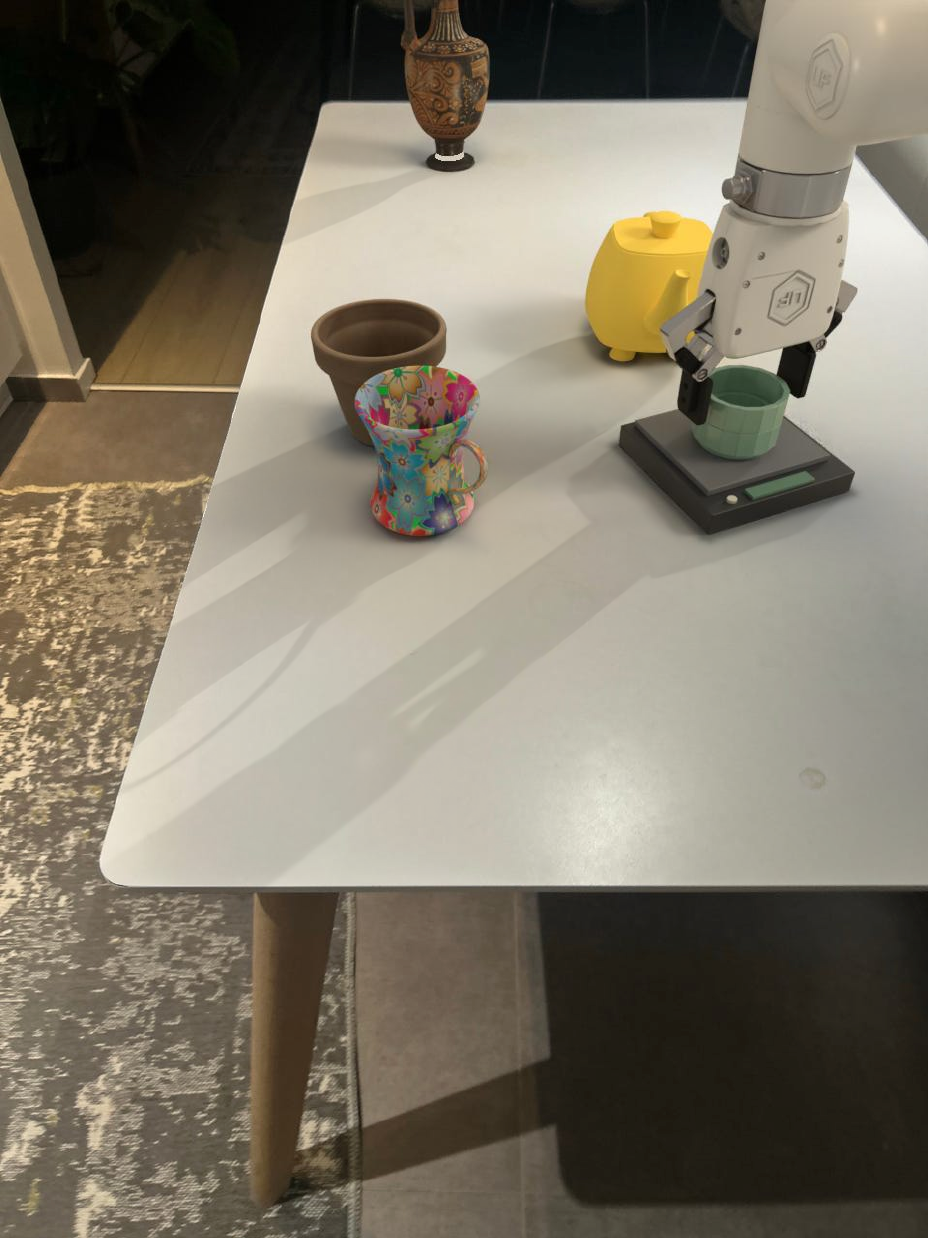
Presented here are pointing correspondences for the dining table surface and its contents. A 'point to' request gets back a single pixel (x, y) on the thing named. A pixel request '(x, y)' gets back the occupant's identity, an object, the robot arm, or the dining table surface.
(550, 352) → the dining table surface
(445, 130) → the vase
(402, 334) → the flower pot
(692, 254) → the teapot
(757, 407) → the bowl
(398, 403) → the mug
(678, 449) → the scale
